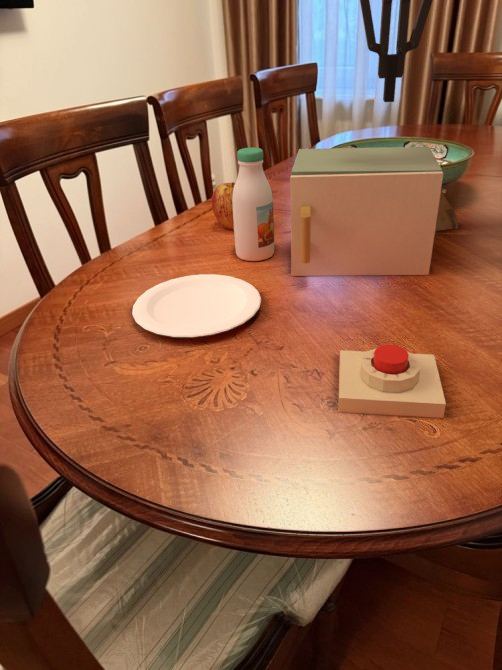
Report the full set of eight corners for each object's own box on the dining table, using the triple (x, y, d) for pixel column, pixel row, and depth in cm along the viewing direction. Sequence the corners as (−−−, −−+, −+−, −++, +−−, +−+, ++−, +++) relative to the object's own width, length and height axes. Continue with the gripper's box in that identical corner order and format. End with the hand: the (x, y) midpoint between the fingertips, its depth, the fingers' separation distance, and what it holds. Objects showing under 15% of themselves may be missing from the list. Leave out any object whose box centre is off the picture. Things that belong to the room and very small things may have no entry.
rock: (464, 213, 109) (417, 203, 112) (471, 189, 101) (420, 178, 104) (448, 257, 106) (400, 245, 110) (454, 236, 99) (402, 223, 102)
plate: (259, 278, 93) (259, 270, 92) (264, 341, 76) (263, 331, 75) (144, 285, 94) (142, 276, 93) (122, 349, 76) (120, 339, 75)
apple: (226, 217, 122) (222, 174, 116) (261, 221, 118) (259, 177, 113) (207, 231, 115) (202, 186, 109) (243, 236, 111) (240, 189, 106)
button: (405, 357, 64) (407, 345, 64) (408, 376, 61) (410, 364, 60) (372, 355, 65) (373, 343, 64) (373, 374, 62) (374, 362, 61)
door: (435, 289, 86) (451, 182, 77) (290, 289, 89) (289, 186, 79) (427, 272, 92) (442, 171, 82) (291, 273, 94) (290, 175, 85)
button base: (431, 368, 68) (436, 342, 66) (443, 418, 60) (448, 391, 58) (339, 363, 70) (340, 338, 68) (338, 412, 62) (339, 385, 60)
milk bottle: (245, 265, 99) (238, 157, 88) (229, 251, 105) (221, 148, 94) (281, 256, 101) (279, 150, 90) (264, 243, 107) (260, 142, 96)
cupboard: (427, 272, 92) (442, 169, 82) (292, 270, 96) (291, 171, 86) (417, 238, 105) (429, 146, 96) (299, 237, 109) (298, 148, 99)
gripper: (447, -88, 73) (426, 95, 86) (353, -79, 75) (346, 98, 87) (457, -96, 67) (434, 102, 79) (355, -86, 69) (347, 106, 81)
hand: (388, 100), depth 83 cm, fingers closed
